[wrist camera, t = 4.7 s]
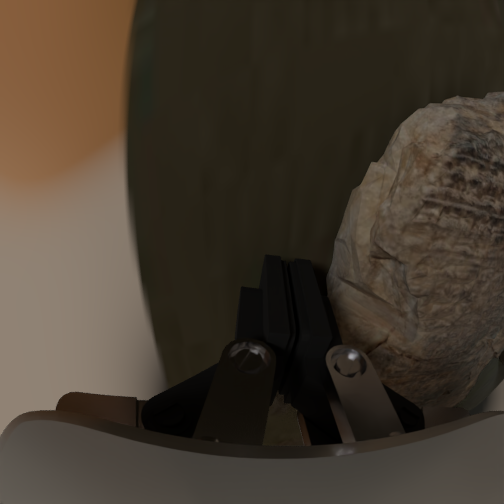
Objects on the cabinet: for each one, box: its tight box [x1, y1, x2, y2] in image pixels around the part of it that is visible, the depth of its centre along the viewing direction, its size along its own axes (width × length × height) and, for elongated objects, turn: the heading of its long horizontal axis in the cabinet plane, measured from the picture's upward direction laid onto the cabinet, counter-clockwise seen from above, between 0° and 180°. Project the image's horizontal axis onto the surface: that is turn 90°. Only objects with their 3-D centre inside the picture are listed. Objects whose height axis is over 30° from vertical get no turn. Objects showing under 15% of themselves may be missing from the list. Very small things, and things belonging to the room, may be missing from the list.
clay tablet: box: [297, 92, 504, 411], centre depth 10 cm, size 14×5×20 cm
